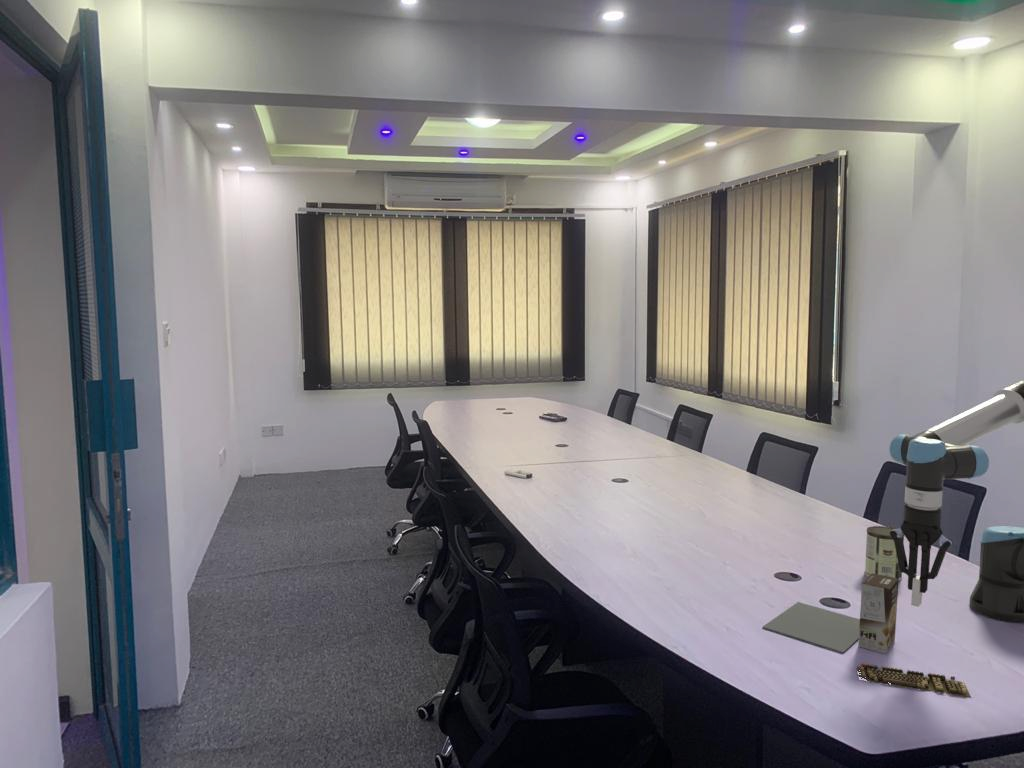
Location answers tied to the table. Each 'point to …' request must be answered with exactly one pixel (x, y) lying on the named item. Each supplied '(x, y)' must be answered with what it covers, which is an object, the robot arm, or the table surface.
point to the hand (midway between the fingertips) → (916, 604)
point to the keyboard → (913, 680)
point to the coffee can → (881, 553)
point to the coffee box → (878, 612)
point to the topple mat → (817, 627)
